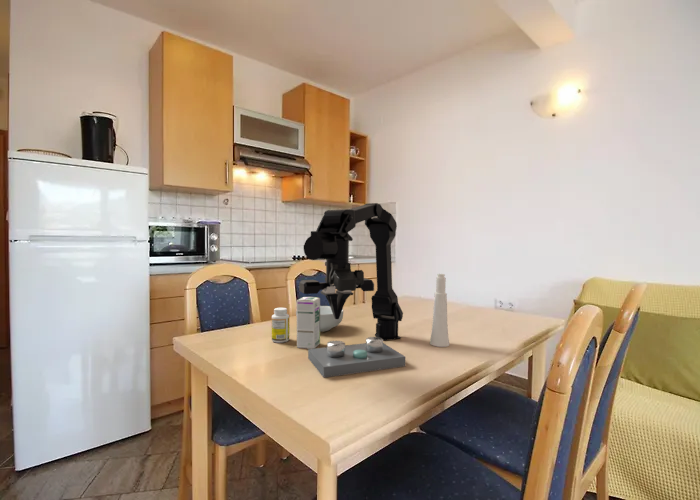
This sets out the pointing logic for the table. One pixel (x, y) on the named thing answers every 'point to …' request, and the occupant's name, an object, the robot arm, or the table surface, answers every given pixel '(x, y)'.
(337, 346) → the knob
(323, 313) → the cereal bowl
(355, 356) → the teal flat disc
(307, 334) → the syrup box
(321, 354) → the panel
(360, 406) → the table surface
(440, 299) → the cosmetic bottle
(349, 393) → the table surface
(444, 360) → the table surface
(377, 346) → the knob
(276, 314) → the supplement bottle
